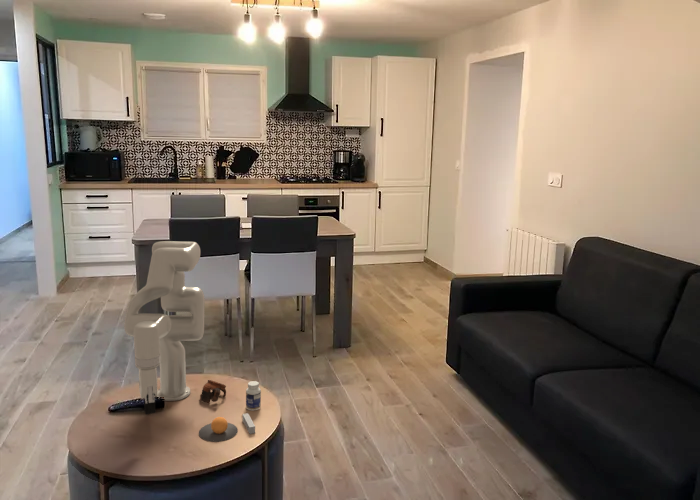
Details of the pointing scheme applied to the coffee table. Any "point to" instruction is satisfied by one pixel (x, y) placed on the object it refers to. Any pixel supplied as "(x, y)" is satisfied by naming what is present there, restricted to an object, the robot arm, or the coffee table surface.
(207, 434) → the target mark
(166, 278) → the robot arm
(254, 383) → the pill bottle
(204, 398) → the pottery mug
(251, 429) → the bar
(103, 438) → the coffee table surface
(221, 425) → the ball
